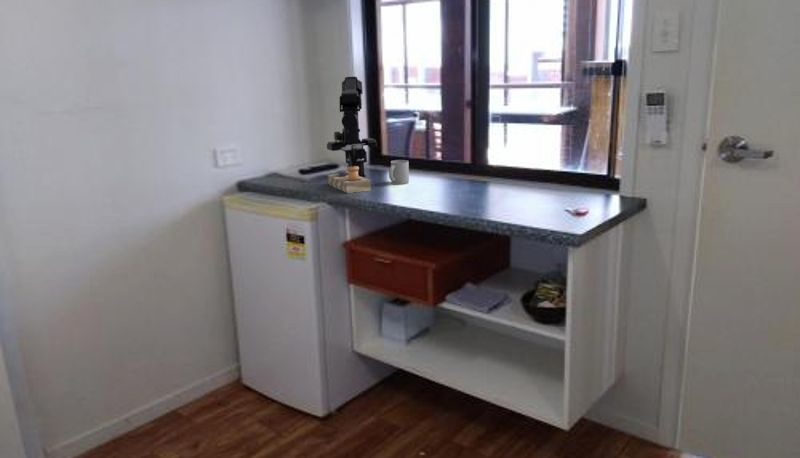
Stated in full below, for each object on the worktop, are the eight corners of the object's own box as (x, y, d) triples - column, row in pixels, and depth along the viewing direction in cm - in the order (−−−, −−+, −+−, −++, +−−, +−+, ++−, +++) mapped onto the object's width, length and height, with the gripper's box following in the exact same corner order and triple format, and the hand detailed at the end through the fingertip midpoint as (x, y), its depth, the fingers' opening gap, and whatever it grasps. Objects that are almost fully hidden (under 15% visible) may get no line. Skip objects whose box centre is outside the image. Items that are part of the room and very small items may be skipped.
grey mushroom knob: (347, 183, 255) (346, 169, 254) (351, 185, 251) (351, 171, 250) (336, 184, 253) (336, 170, 252) (341, 186, 249) (340, 172, 248)
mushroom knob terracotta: (356, 180, 246) (356, 165, 244) (361, 182, 242) (360, 167, 240) (345, 181, 244) (345, 166, 242) (350, 183, 240) (349, 168, 238)
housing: (328, 184, 254) (327, 175, 253) (350, 181, 259) (350, 172, 258) (347, 193, 237) (346, 183, 236) (370, 190, 242) (370, 180, 241)
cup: (412, 182, 255) (412, 161, 252) (396, 186, 248) (396, 164, 245) (399, 180, 259) (398, 159, 257) (383, 184, 252) (382, 162, 250)
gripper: (364, 122, 248) (366, 161, 252) (320, 126, 240) (322, 165, 244) (376, 125, 239) (377, 165, 243) (331, 128, 230) (333, 170, 235)
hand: (352, 166), depth 241 cm, fingers closed
